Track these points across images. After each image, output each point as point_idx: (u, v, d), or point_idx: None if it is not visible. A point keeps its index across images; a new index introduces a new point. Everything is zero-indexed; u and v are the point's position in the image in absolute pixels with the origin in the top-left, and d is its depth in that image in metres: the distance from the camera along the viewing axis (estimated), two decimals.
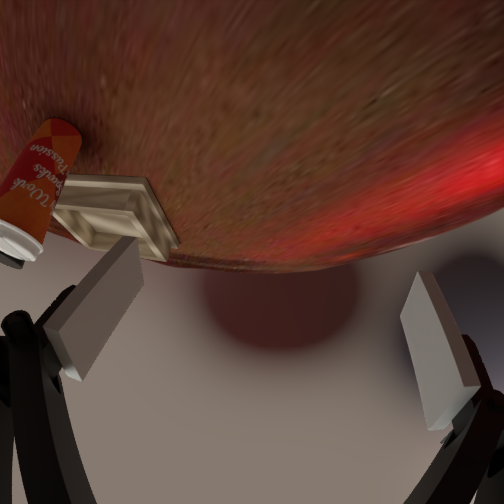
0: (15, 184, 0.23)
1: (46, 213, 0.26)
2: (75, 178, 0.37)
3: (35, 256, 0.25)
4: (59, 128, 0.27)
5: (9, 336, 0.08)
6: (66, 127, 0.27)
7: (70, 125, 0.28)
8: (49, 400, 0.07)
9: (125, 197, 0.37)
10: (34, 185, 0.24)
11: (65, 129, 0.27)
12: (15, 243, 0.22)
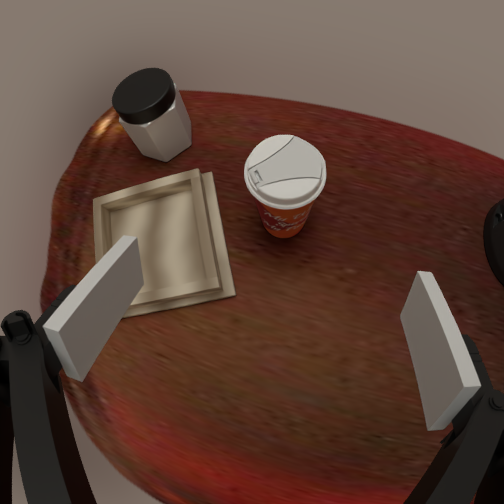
0: None
1: (288, 215, 0.32)
2: (220, 215, 0.42)
3: (275, 198, 0.28)
4: None
5: (9, 336, 0.08)
6: (301, 228, 0.41)
7: (299, 231, 0.41)
8: (49, 400, 0.07)
9: (219, 275, 0.38)
10: (309, 209, 0.33)
11: (301, 228, 0.40)
12: (311, 190, 0.28)
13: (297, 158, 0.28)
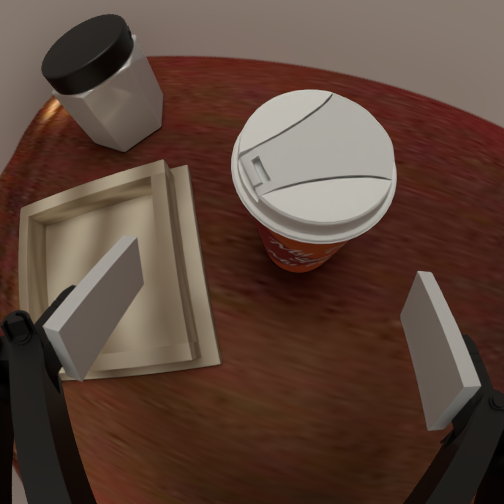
0: None
1: (317, 250, 0.16)
2: (197, 234, 0.26)
3: (299, 222, 0.12)
4: None
5: (9, 336, 0.08)
6: None
7: None
8: (49, 400, 0.07)
9: (193, 335, 0.23)
10: None
11: None
12: (375, 204, 0.12)
13: (342, 135, 0.13)
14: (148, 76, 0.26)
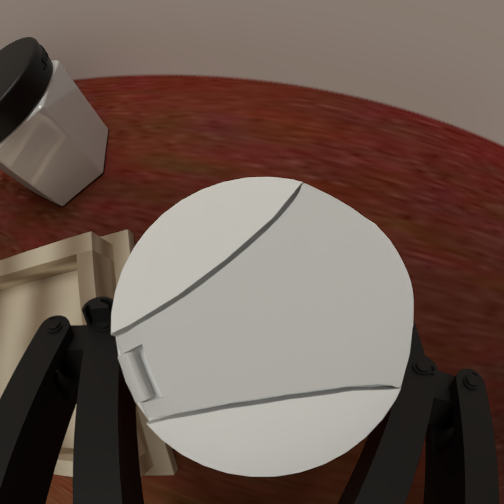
0: None
1: None
2: None
3: (216, 468, 0.06)
4: None
5: (89, 321, 0.09)
6: None
7: None
8: (121, 394, 0.08)
9: (140, 449, 0.16)
10: None
11: None
12: (360, 439, 0.06)
13: (313, 295, 0.07)
14: (80, 111, 0.20)
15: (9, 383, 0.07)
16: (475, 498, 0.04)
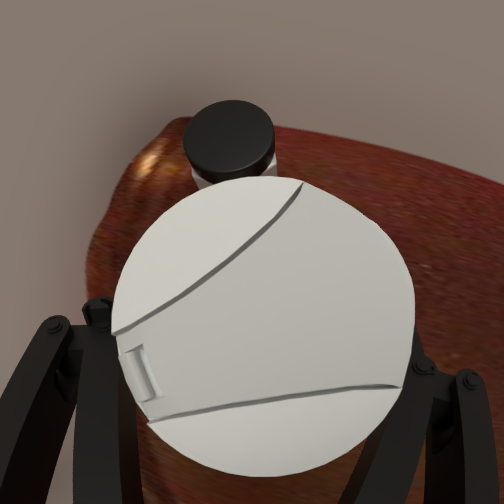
0: None
1: None
2: None
3: (217, 468, 0.06)
4: None
5: (89, 321, 0.09)
6: None
7: None
8: (121, 394, 0.08)
9: None
10: None
11: None
12: (361, 439, 0.06)
13: (314, 294, 0.07)
14: None
15: (8, 383, 0.07)
16: (475, 498, 0.04)
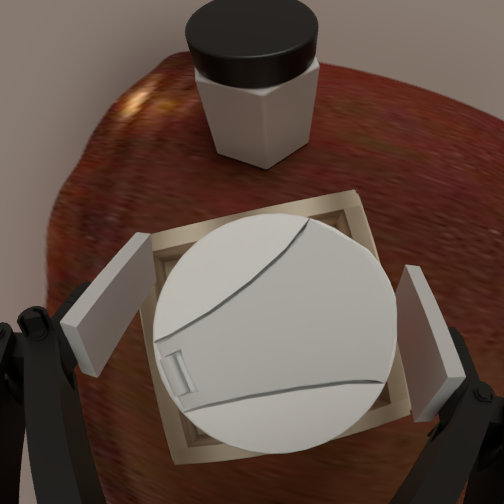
0: None
1: None
2: None
3: (239, 447, 0.08)
4: None
5: (25, 332, 0.09)
6: None
7: None
8: (64, 398, 0.07)
9: None
10: None
11: None
12: (353, 423, 0.08)
13: (316, 310, 0.08)
14: None
15: None
16: None
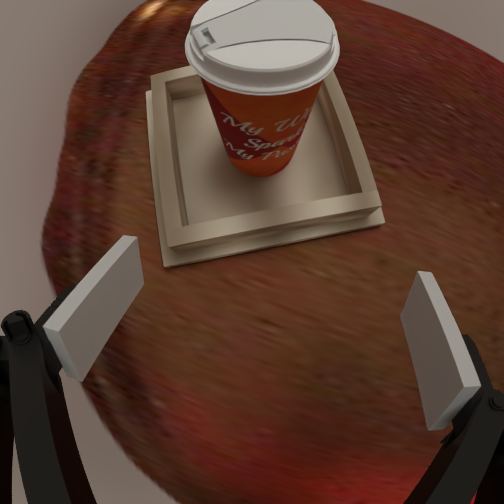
0: None
1: (265, 120, 0.16)
2: None
3: (239, 70, 0.12)
4: (293, 154, 0.24)
5: (9, 336, 0.08)
6: (287, 163, 0.25)
7: (284, 167, 0.25)
8: (49, 400, 0.07)
9: None
10: (305, 117, 0.17)
11: (288, 162, 0.25)
12: (313, 59, 0.12)
13: (285, 13, 0.12)
14: None
15: None
16: None
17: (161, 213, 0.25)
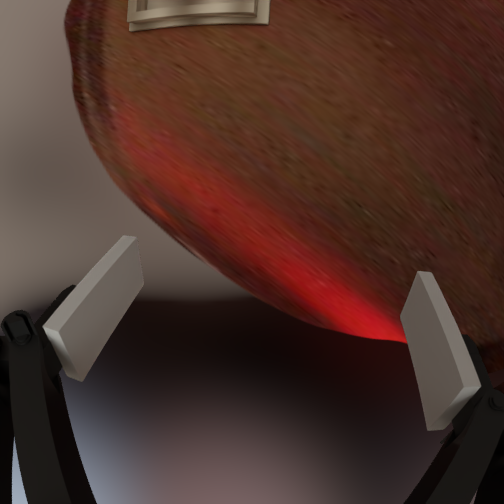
0: None
1: None
2: None
3: None
4: None
5: (9, 336, 0.08)
6: None
7: None
8: (49, 400, 0.07)
9: (256, 2, 0.28)
10: None
11: None
12: None
13: None
14: None
15: None
16: None
17: None
